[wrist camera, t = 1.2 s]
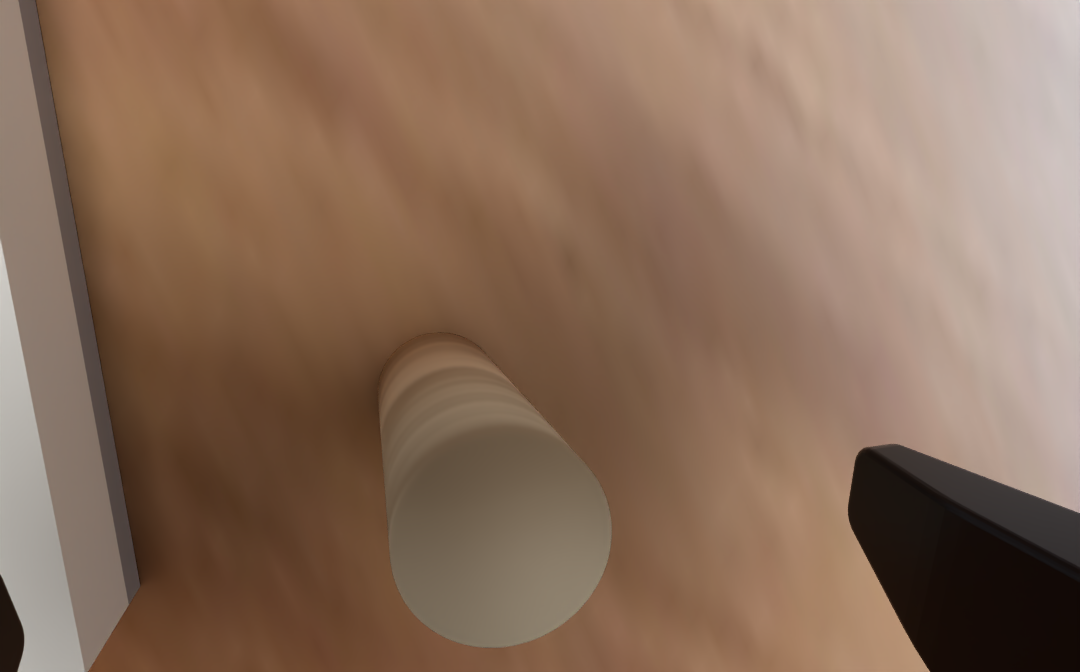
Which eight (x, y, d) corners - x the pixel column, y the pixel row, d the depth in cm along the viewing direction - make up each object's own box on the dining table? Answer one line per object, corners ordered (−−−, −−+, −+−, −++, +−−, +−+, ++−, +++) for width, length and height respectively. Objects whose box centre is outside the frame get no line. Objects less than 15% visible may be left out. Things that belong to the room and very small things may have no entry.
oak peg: (503, 441, 21) (618, 624, 12) (385, 458, 21) (403, 667, 11) (492, 325, 21) (604, 418, 11) (371, 340, 20) (376, 450, 10)
